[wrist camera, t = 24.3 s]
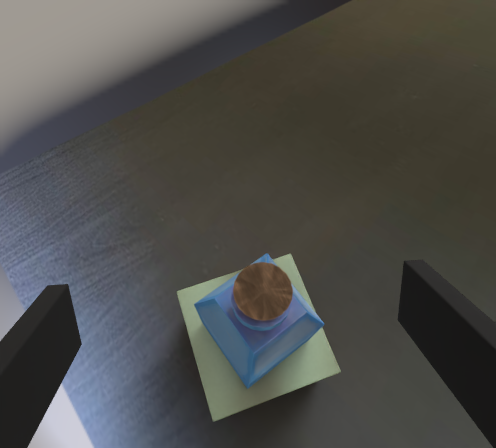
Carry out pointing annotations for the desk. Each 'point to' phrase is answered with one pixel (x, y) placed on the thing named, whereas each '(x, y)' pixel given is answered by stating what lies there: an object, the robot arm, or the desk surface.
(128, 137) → the desk surface
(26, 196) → the desk surface
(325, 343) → the pale green square pedestal
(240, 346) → the perfume bottle
